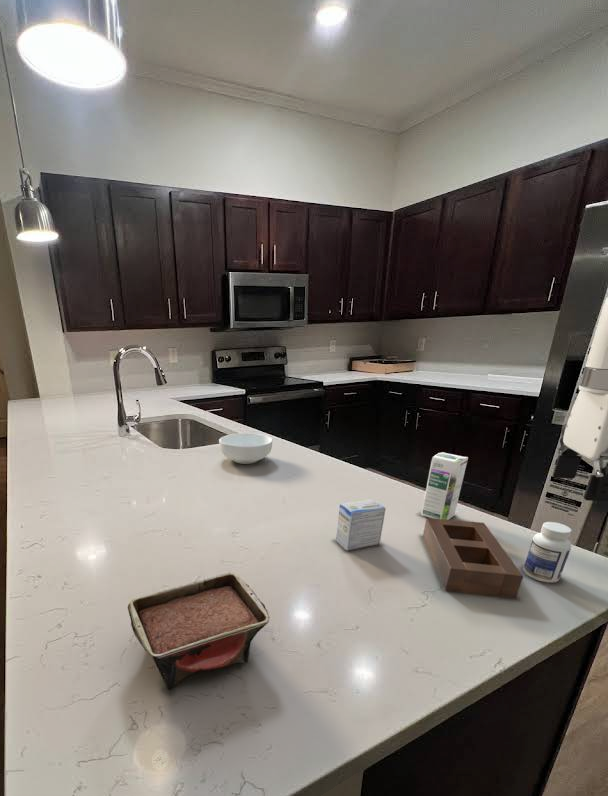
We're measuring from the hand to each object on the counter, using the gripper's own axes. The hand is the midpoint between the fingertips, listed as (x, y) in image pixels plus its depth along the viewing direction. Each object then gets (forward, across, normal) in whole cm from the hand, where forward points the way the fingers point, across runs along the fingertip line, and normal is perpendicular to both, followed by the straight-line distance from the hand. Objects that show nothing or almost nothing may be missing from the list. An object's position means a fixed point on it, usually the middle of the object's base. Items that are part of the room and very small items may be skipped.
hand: (578, 488), depth 68 cm
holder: (+17, +1, +14) cm, 22 cm away
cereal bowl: (+16, +53, +65) cm, 85 cm away
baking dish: (+16, -30, +57) cm, 66 cm away
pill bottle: (+17, 0, +2) cm, 17 cm away
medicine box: (+16, +5, +33) cm, 37 cm away
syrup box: (+17, +22, +14) cm, 31 cm away
